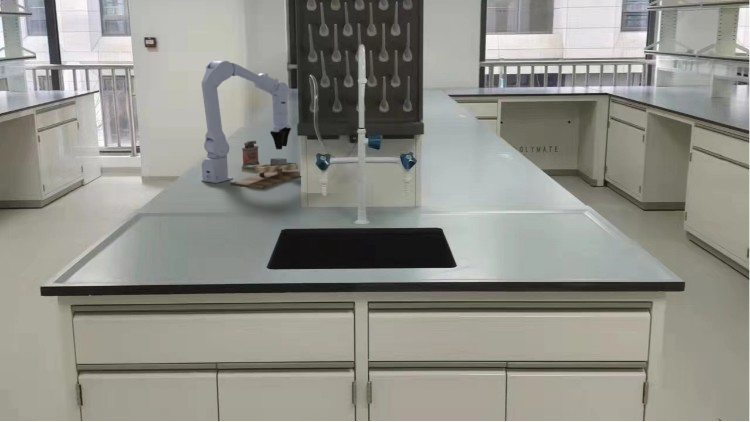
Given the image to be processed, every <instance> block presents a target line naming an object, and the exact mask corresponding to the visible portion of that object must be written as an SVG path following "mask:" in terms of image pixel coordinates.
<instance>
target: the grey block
mask: <svg viewBox="0 0 750 422" xmlns="http://www.w3.org/2000/svg"><path fill="white" fill-rule="evenodd" d="M287 160H288V159H287V158H284V157H283V158H282V157H276V158H275V157H274V158H270V163H269V164H270V166H280V165H287V162H288V161H287Z"/></svg>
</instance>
